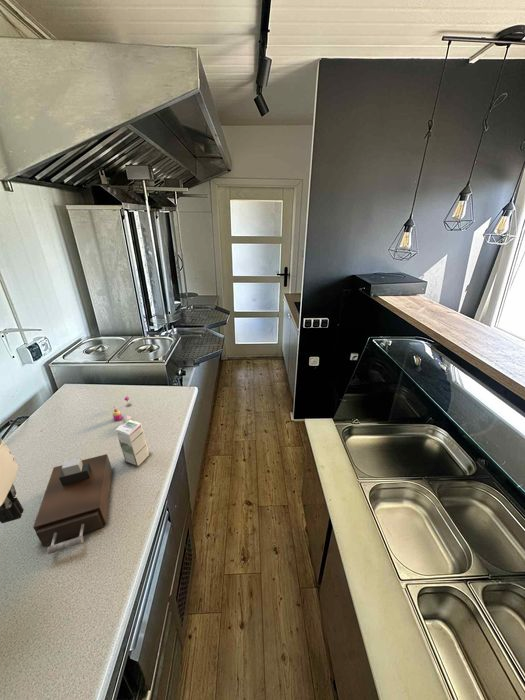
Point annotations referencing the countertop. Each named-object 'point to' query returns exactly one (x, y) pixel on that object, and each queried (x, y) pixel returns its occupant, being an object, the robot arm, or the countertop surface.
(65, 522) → the drawer
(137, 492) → the countertop surface
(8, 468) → the robot arm
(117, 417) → the candy
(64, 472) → the two-tone rectangular prism
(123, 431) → the syrup box
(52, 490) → the cabinet
